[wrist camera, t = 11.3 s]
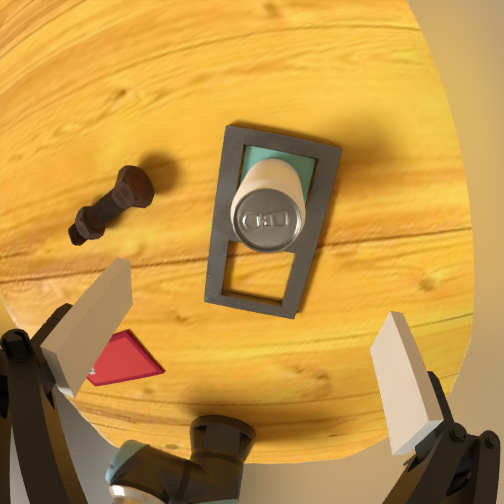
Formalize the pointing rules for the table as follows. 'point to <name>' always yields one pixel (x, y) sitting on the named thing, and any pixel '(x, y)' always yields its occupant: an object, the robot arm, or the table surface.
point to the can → (269, 207)
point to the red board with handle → (122, 361)
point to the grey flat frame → (301, 248)
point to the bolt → (112, 205)
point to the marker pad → (298, 162)
